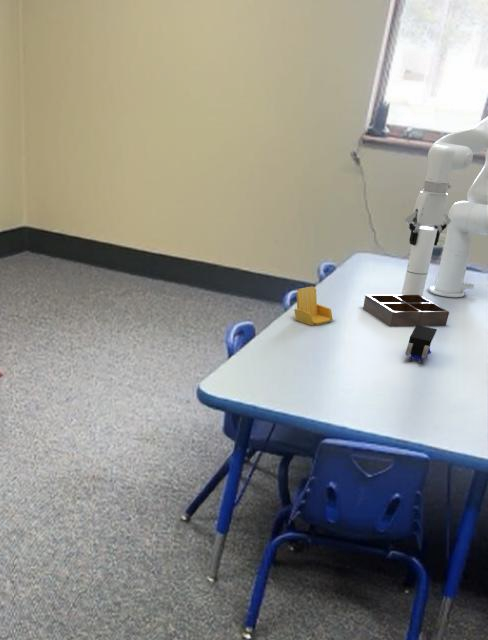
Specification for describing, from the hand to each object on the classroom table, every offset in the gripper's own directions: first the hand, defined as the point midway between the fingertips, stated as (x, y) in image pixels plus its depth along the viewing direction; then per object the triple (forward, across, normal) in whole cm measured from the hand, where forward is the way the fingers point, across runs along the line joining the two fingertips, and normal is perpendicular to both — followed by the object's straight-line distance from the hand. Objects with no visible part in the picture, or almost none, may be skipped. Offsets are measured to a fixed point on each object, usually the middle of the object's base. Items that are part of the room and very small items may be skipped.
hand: (423, 244), depth 272 cm
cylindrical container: (+20, 0, 0) cm, 20 cm away
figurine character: (+20, +27, +55) cm, 64 cm away
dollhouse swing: (+20, +45, +19) cm, 53 cm away
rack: (+20, +11, +16) cm, 28 cm away
